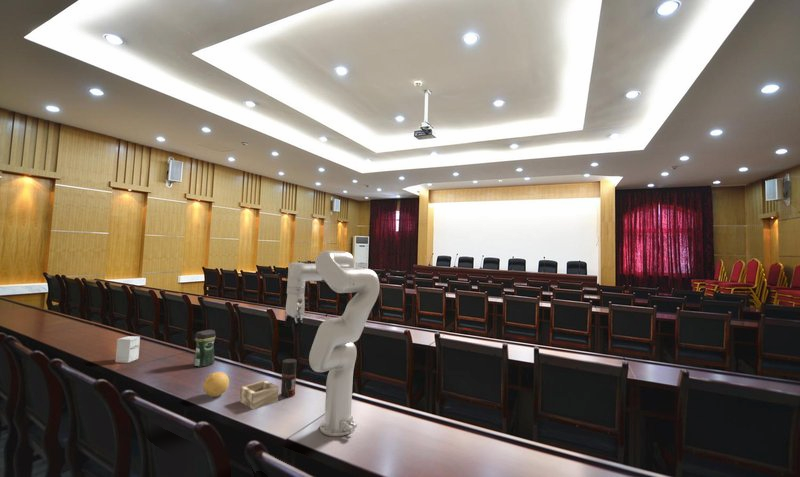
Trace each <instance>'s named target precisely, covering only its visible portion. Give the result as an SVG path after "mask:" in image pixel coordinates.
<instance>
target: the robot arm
mask: <svg viewBox="0 0 800 477" xmlns="http://www.w3.org/2000/svg"><path fill="white" fill-rule="evenodd" d="M314 262H315V263H305V262H297V261H295V262H290V263H289V264H288V271H287V272H288V273H287V284H286V285H287V286H286V294H287V295H286V296H287V297H286V303H285V311H284V312H285V316H284V317H285V320H284V327H286V328H288V327H290V328H291V327H293V332H294V333H299V332H302V329H303V328H302V327H303V320H304V317H305V304H306V303H305V302H306V301H305V292H306V291H305V289H306V282H318V281H319V282H320V281H324V282H325V283H326V284H327V285H328V286H329V288H330V289H331V290H332V291H334V292H335V293H338V294H345V293H347V294H349V293H355V295H354V296H353V297H352V298H351V299H350V300H349V301H348V303H347V305H346V307H345V310H344V312H343V313H342V315H341V316H339V317H332V318H328V319H325V320H324V321H322V322H321V323H320V325H319V327H318V328H317V331H316V334H315V337H314V340H313V343H312V345H311V348H310V351H309V356H308V360H309V361H308V362H309V363H308V364H309V367H310V368H311V369H312V371H313V372H316V373H324V372H328V371H329V372H328V374H327V377H326V381H325V382H326V385H325V403H324V404H325V405H324V420H323V421H322V422H321V423H320V424H319V431H320V432H321V433H322V434H323V435H325V436H329V437H343V436H347V435H349V434H353V433H354V432H355V429H356V428H357V427H358V424H357V423H356V422H355V421H354V417H353V416H352V403H353V402H352V400H353V398H352V397H353V384H354V383H353V382H354V381H353V380H354V378H353V377H354V369H355V364H356V360H357V353H358V352H357V346H356V345H355V342H357V341H359V339H360V337H361V336H362V333H363V331H364V329H365V328H364V327H365V325H366V324H367V321H368V319H369V315H370V313H371V311H372V309H373V307H374V306H375V303H376V301H377V299H378V297H379V294H380V288H381V287H380V281H379V280H380V279H379V276H378V274H377V273H376V272H375V271H374V270H372V269H370V268H365V267H354V266H355V262H356V261H355V258H354V256H353V255H352V253H350V252H347V251H345V250H323V251H321V252H319V253H318V254H317V255H316V258H315V260H314ZM293 319H294V320H293ZM293 321H295V322H294V323H293Z"/></svg>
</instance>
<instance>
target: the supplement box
mask: <svg viewBox="0 0 800 477" xmlns="http://www.w3.org/2000/svg"><path fill="white" fill-rule="evenodd" d="M140 340H141V336H140V335H139V336H138V335H137V336H136V335H131V336H130V335H128V336H124V337H121V338H117V339H116V352H115V363H123V364H126V363H127V364H128V363H131V362H133V361H136V360H139V356H140V355H139V354H140Z"/></svg>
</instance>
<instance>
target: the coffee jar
mask: <svg viewBox="0 0 800 477" xmlns="http://www.w3.org/2000/svg"><path fill="white" fill-rule="evenodd" d="M194 340H195V353H194V358H193V359H194V360H193V366H195V367H196V366H198V367H199V368H200V367H201V368H203V367H202V366H204V367H206V366H207V365H208V366H210V364H211V365H214V364H215V340H216V331H215V330H213V329H205V330H201V331H197V332H196V333H195V338H194ZM198 367H197V368H198Z"/></svg>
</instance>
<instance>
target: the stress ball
mask: <svg viewBox="0 0 800 477" xmlns="http://www.w3.org/2000/svg"><path fill="white" fill-rule="evenodd" d="M229 385H230V378H229V376H228V375H227V374H226V373H224V372H221V371H216V372H215V371H214V372H213V373H210V374H209V375H208V376H207V377H206V378H205V379H204V381H203V386H202V389H203V392H204V393H205V395H208V396H209V397H212V398H218V397H219V396H221V395H223V394H224V393H225V392H226V391H227V389H228V387H229Z"/></svg>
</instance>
